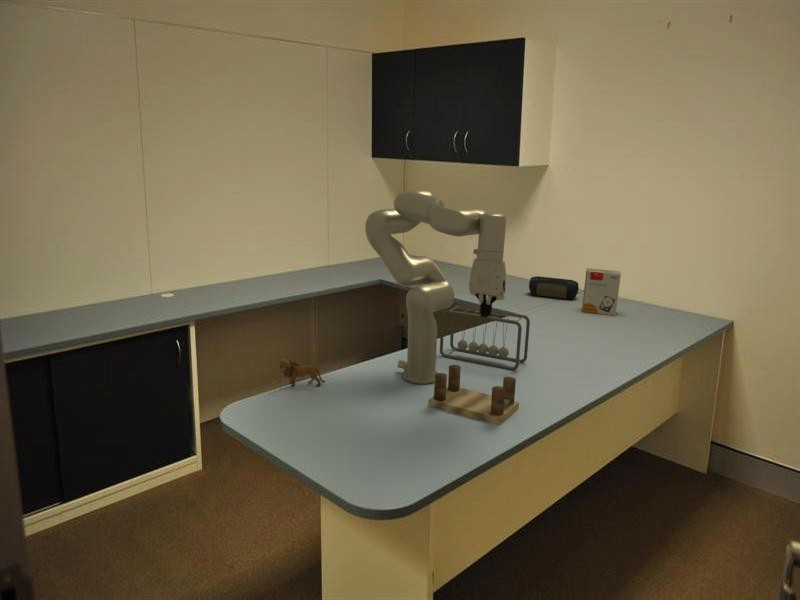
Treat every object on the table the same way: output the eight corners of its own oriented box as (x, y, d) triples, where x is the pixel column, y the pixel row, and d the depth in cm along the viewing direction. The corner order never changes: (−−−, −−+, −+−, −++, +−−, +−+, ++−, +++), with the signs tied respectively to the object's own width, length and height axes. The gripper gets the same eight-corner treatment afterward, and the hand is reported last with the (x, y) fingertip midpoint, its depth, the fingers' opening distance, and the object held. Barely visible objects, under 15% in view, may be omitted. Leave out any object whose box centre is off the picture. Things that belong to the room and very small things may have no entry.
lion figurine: (279, 389, 202) (278, 362, 200) (278, 383, 207) (277, 357, 205) (326, 386, 206) (326, 359, 203) (323, 380, 210) (323, 354, 208)
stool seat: (428, 405, 193) (429, 375, 190) (449, 391, 204) (451, 362, 202) (499, 424, 181) (502, 393, 179) (518, 408, 193) (520, 378, 190)
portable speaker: (526, 296, 334) (527, 277, 331) (530, 292, 343) (531, 273, 340) (575, 302, 325) (577, 282, 322) (578, 297, 334) (580, 278, 331)
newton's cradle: (438, 356, 237) (441, 309, 233) (450, 349, 246) (452, 303, 242) (517, 371, 224) (521, 322, 219) (527, 363, 232) (530, 315, 228)
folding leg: (504, 398, 194) (505, 376, 192) (515, 400, 192) (517, 378, 190) (488, 412, 183) (490, 389, 181) (500, 415, 181) (502, 392, 179)
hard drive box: (581, 312, 305) (585, 270, 300) (582, 308, 312) (586, 267, 307) (616, 315, 300) (620, 273, 296) (615, 311, 307) (620, 270, 303)
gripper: (461, 253, 189) (457, 314, 194) (508, 261, 181) (502, 323, 186) (473, 250, 195) (468, 309, 200) (519, 257, 187) (513, 318, 192)
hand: (485, 316), depth 193 cm, fingers closed
